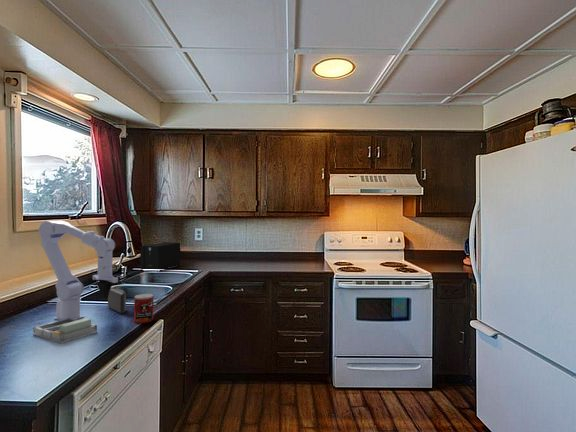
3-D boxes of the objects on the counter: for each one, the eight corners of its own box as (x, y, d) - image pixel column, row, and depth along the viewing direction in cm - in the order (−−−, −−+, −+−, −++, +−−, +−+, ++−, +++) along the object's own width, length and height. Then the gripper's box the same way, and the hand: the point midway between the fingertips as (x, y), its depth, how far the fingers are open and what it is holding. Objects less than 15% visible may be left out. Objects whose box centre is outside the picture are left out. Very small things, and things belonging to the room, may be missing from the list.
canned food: (134, 324, 151) (134, 298, 151) (134, 319, 158) (134, 294, 158) (153, 322, 154) (153, 297, 154) (152, 317, 161) (152, 292, 161)
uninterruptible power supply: (139, 271, 277) (140, 245, 276) (164, 265, 309) (164, 241, 309) (158, 272, 273) (158, 246, 272) (181, 265, 306) (182, 242, 305)
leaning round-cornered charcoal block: (130, 312, 168) (130, 292, 168) (120, 314, 165) (120, 294, 164) (116, 305, 179) (116, 287, 179) (107, 307, 176) (107, 288, 175)
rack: (33, 334, 137) (33, 325, 137) (69, 324, 149) (69, 316, 149) (61, 343, 129) (61, 334, 129) (96, 332, 141) (96, 323, 141)
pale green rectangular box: (59, 337, 133) (59, 325, 133) (85, 329, 142) (85, 318, 142) (64, 338, 132) (64, 326, 132) (90, 330, 140) (90, 319, 140)
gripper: (85, 266, 155) (85, 297, 156) (107, 269, 149) (107, 301, 149) (100, 264, 162) (100, 294, 162) (122, 266, 155) (122, 298, 155)
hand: (104, 297), depth 156 cm, fingers closed
